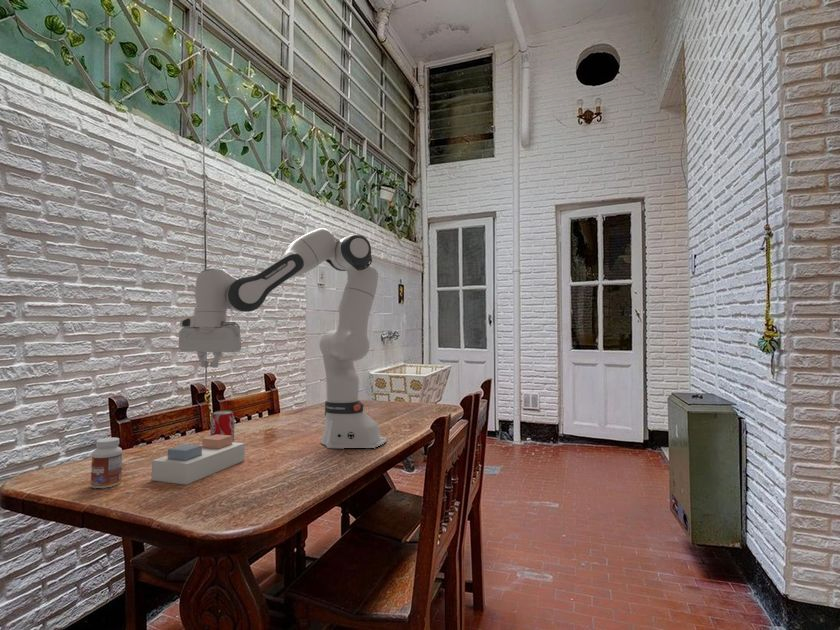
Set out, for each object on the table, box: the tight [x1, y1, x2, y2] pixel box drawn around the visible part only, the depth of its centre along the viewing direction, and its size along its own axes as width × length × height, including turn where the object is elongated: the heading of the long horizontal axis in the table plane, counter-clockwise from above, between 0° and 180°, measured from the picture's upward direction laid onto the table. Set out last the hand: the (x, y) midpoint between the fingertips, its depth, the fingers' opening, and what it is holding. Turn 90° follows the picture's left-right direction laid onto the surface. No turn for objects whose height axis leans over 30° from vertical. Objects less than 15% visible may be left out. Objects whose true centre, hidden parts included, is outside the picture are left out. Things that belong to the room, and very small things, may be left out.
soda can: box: [209, 410, 235, 442], centre depth 143 cm, size 7×7×12 cm
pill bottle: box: [90, 437, 123, 489], centre depth 110 cm, size 6×6×11 cm
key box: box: [150, 441, 246, 485], centre depth 123 cm, size 11×22×5 cm, turn 164°
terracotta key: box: [201, 434, 232, 449], centre depth 128 cm, size 6×6×4 cm
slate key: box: [167, 443, 202, 461], centre depth 117 cm, size 6×6×4 cm
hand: (209, 367), depth 135 cm, fingers open, 2 cm apart
